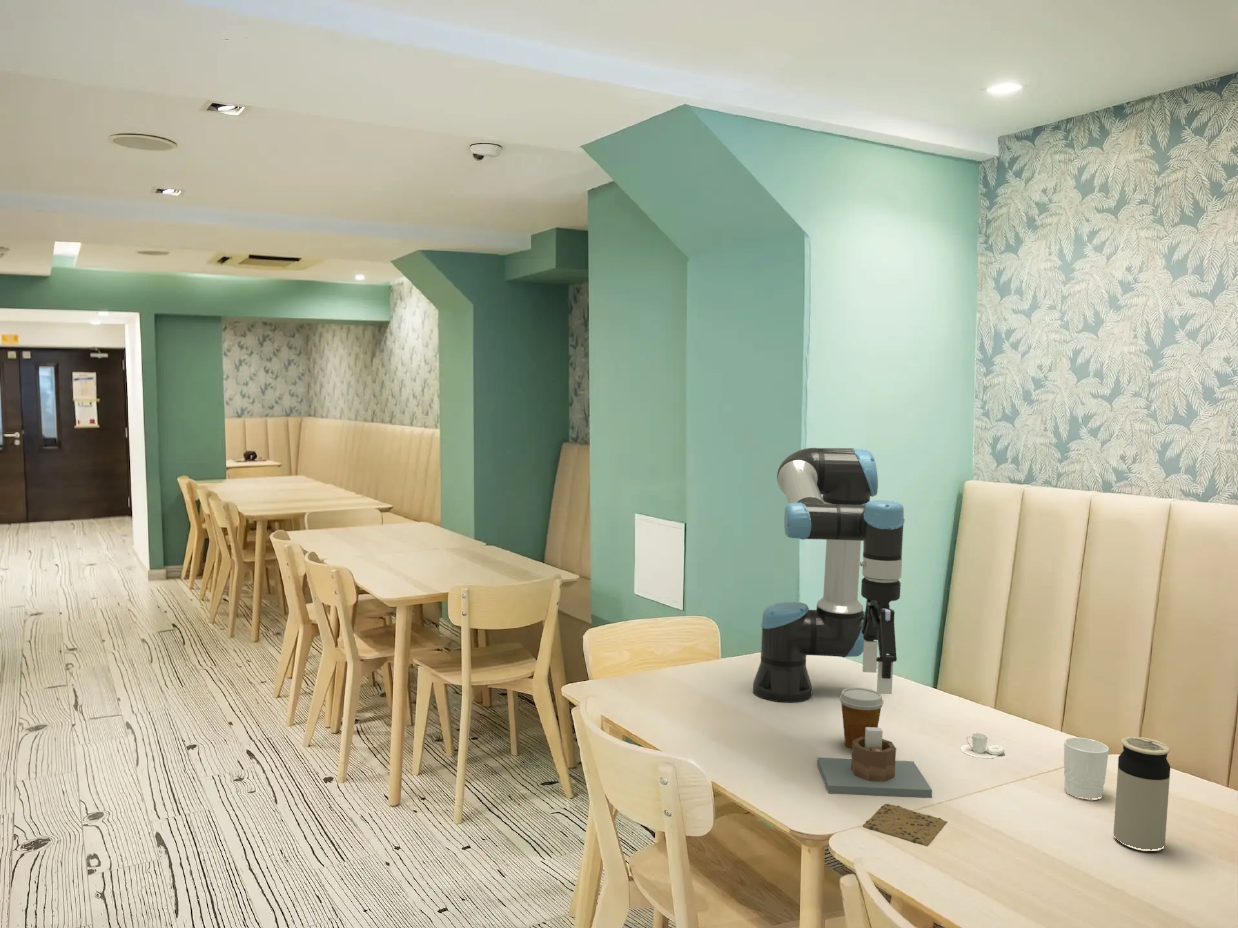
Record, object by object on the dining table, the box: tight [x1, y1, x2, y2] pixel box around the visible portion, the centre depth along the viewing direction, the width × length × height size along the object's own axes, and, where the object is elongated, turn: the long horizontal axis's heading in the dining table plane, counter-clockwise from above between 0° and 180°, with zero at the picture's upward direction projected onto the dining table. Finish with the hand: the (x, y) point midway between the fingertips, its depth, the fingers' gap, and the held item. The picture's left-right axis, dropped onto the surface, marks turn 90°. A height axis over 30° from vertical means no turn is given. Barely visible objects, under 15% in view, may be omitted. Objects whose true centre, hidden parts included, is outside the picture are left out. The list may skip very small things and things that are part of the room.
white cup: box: [1063, 736, 1110, 799], centre depth 184 cm, size 8×8×10 cm
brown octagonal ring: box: [850, 737, 897, 782], centre depth 189 cm, size 8×8×6 cm
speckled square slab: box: [862, 803, 948, 847], centre depth 170 cm, size 12×12×1 cm
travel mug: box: [1113, 736, 1171, 850], centre depth 164 cm, size 8×8×18 cm
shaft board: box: [816, 727, 933, 798], centre depth 189 cm, size 14×20×10 cm
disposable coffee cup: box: [839, 687, 885, 751], centre depth 206 cm, size 10×10×12 cm
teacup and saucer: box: [959, 732, 1006, 759], centre depth 205 cm, size 9×8×4 cm
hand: (876, 682), depth 188 cm, fingers open, 13 cm apart
